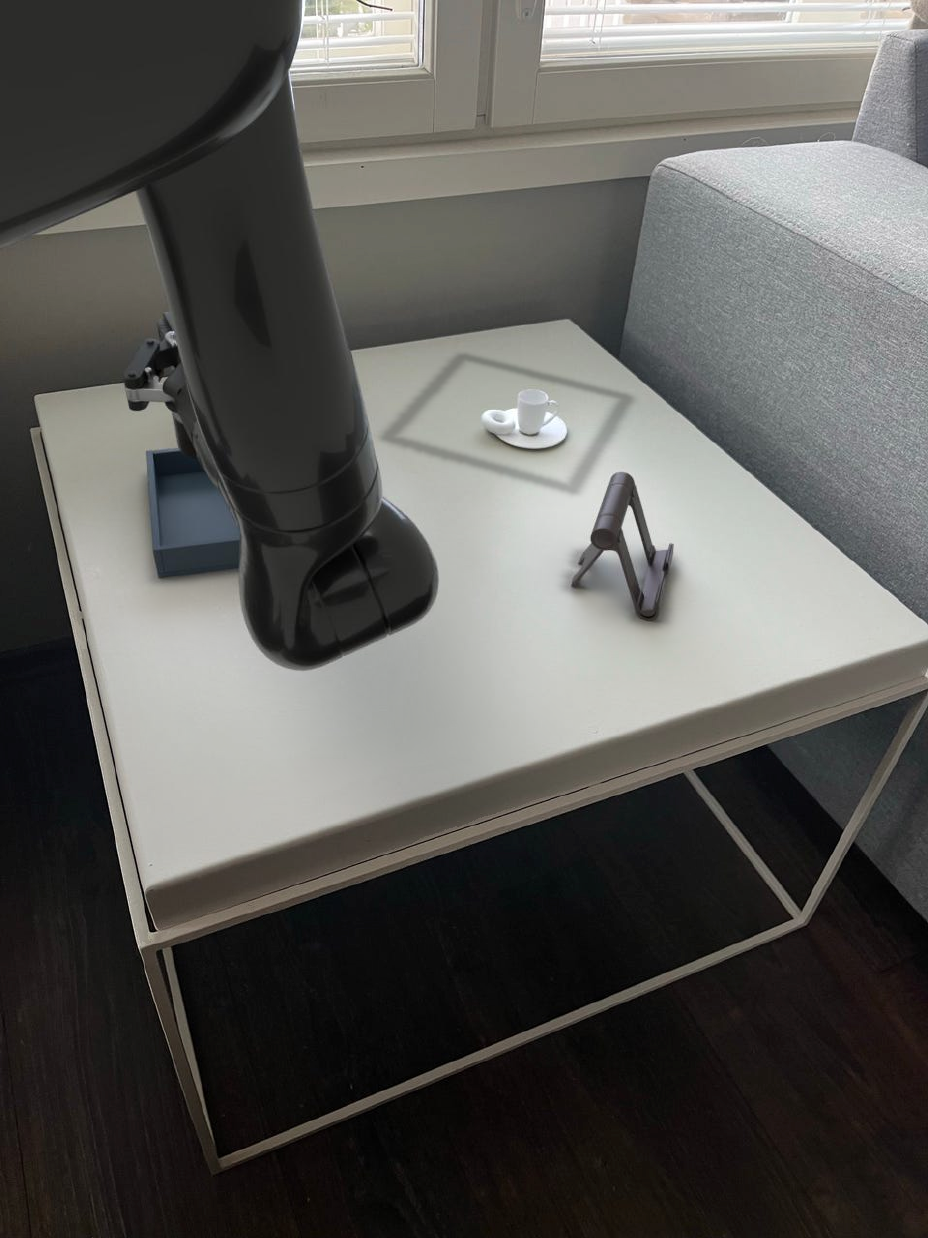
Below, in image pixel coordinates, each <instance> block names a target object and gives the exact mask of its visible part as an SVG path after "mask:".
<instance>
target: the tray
mask: <svg viewBox="0 0 928 1238" xmlns="http://www.w3.org/2000/svg"><path fill="white" fill-rule="evenodd" d="M145 458H146V459H145V461H146V473H147V487H148V489H147V490H148V500H149V501H148V502H149V515H150V532H151V533H150V534H151V545H152V555H153V559H154V563H155V569H156V573H157V578H158V579H165V578H166V579H167V578H173V577H181V576H189V575H197V574H205V573H213V572H220V571H228V570H236V569H237V570H238V567H239V530H238V528H237V526H236V524H235V522H234V520H233V517H232V515H231V513H230V511H229V509H228V507H227V505H226V503H225V501H224V499H223V497H222V495H221V493H220V492H219V491H218V490H217V488H216V487H215V486H214V485H213V483H212V482H211V480H210V478H209V477H208V475H207V473H206V471H205V470H203V468H202V466H201V464H200V462H199V460H197V459H193V458H190V457H188V456H186V455H184V454H183V453H182V452H181V451H180V450H179V448H178V447H173V448H165V449H154V450H145Z"/></svg>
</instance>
